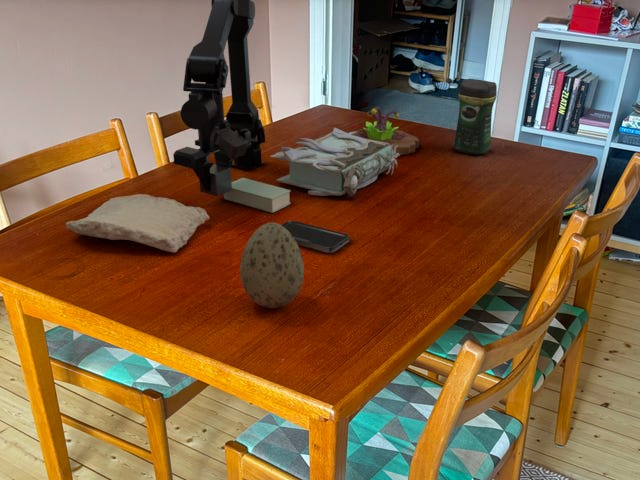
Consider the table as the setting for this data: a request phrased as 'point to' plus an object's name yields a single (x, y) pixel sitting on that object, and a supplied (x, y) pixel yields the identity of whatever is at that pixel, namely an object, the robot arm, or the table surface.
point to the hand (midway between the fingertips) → (215, 187)
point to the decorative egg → (272, 266)
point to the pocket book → (258, 195)
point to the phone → (316, 237)
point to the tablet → (142, 221)
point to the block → (218, 180)
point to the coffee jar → (475, 116)
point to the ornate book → (337, 163)
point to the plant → (388, 133)
